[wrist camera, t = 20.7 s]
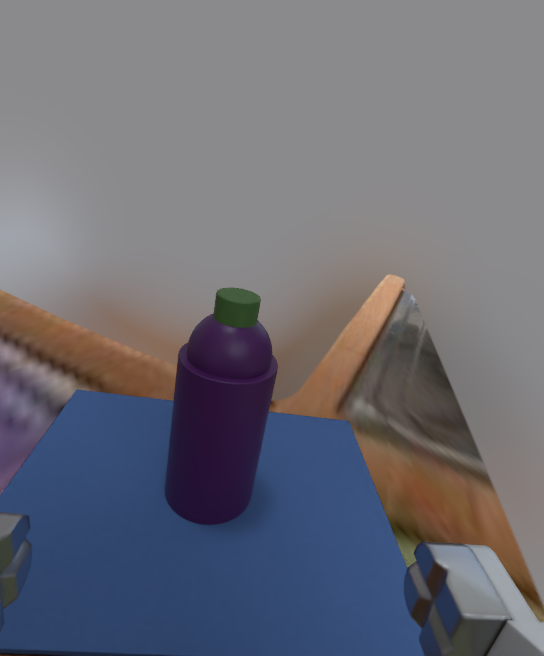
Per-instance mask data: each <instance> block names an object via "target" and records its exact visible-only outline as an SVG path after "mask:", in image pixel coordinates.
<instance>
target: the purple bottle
mask: <svg viewBox="0 0 544 656" xmlns="http://www.w3.org/2000/svg"><path fill="white" fill-rule="evenodd" d="M260 301H261V299H260V296H258V295H257V294H255V293H253V292H251V291H248V290H244V289H239V288H223V289H220V290H218V291H217V293H216V300H215V307H214V313H213V314H211V315H209V316H207V317H206V318H205V319H203V320H202V321H201V322H200V323H199V324H198V325H197V326H196V327H195V329H194V330H193V332H192V334H191V336H190V339H189V341H188V343H187V344H185V345H184V346H182V348H181V349H180V351H179V354H178V364H177V373H176V383H175V393H174V403H173V412H172V422H171V432H170V442H169V451H168V461H167V471H166V481H165V497H166V500H167V502H168V504H169V506H170V507H171V508H172V510H173V511H174V512H175V513H177V514H178V515H179V516H181V517H182V518H184V519H186V520H188V521H191V522H194V523H198V524H204V525H214V524H221V523H225V522H228V521H231V520H233V519H235V518H236V517H238V516H239V515H240V514H242V513H243V512H244V511H245V509H246V508H247V506H248V505H249V503H250V500H251V496H252V491H253V486H254V481H255V476H256V471H257V466H258V462H259V457H260V452H261V447H262V442H263V437H264V432H265V428H266V423H267V418H268V413H269V408H270V403H271V399H272V393H273V388H274V384H275V379H276V374H277V369H278V364H277V361H276V359H275V358H274V356H273V355H272V345H271V341H270V338H269V335H268V333H267V331H266V330H265V328H264V327H263V326H262V325H261V323H259V321H258V320H257V318H258V313H259V307H260Z"/></svg>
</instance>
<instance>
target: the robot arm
mask: <svg viewBox="0 0 544 656" xmlns="http://www.w3.org/2000/svg"><path fill="white" fill-rule="evenodd" d="M30 528H31V527H30V519H29V516H28V515H23V514H13V513H3V512H0V631H1V629H2V627H3V625H4V624H5V622H4V612H3V609H4V608H6V607H7V606H8V605H10V604H11V603H12V602H13V601H15V600H16V599H17V598H18V596H19V594H20V592H21V590H22V588H23V586H24V584H25V582H26V579H27V575H28V572H29V569H30V566H31V560H32V544H31V543H30V542H29V541H28V540H27V539H26V538H25V537H26V535H27V534H28V532H29V530H30ZM414 555H415V557H416V560H417V562H415V563H414V564H412V565H411V566H410V567H408V569H407V571H406V574H405V577H404V597H405V602H406V606H407V609H408V611H409V614H410V617H411V618H412V619H413V620H414V621H415V622H416V623H417V624H418V625H419V626H420V627H421V631H420V635H419V642H420V645H421V647H422V650H423V653H424V656H544V622H539V621H538V620H537V618H536V617H535V615H534V614H533V612H532V610H531V609H530V607H529V606H528V604H527V603H526V601H525V599H524V598H523V596H522V595H521V593H520V592H519V590H518V588H517V587H516V585H515V584H514V582H513V581H512V579H511V578H510V576H509V574H508V573H507V571H506V570H505V568H504V567H503V565H502V563H501V562H500V560H499V559H498V557H497V556H496V554H495V552H494V551H493V550H492V549H491V548H489V547H488V546H482V545H467V544H465V545H463V544H457V543H439V542H421V543H420V544H418V545H417V547H416V550H415V552H414Z"/></svg>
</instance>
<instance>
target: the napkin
mask: <svg viewBox="0 0 544 656" xmlns="http://www.w3.org/2000/svg"><path fill="white" fill-rule="evenodd" d="M173 403H174V401H171V400H162V399H153V398H145V397H136V396H127V395H119V394H110V393H101V392H93V391H84V390H76V392H75V393H74V394H73V396H72V397H71V398H70V400H69V401H68V403H67V404H66V405H65V407H64V408H63V410H62V411H61V412H60V414H59V415H58V417H57V418H56V419H55V421H54V422H53V423H52V425H51V426H50V428H49V429H48V430H47V432H46V433H45V435H44V436H43V437H42V439H41V440H40V441H39V443H38V444H37V446H36V447H35V448H34V450H33V451H32V453H31V454H30V455H29V457H28V458H27V459H26V461H25V462H24V464H23V465H22V466H21V468H20V469H19V471H18V472H17V473H16V475H15V476H14V478H13V479H12V480H11V482H10V483H9V484H8V486H7V487H6V489H5V490H4V491H3V493H2V494H1V496H0V512H3V513H13V514H23V515H28V516H29V519H30V527H31V528H30V530H29V532H28V534H27V535H26V537H25V538H26V539H27V540H28V541H29V542H30V543H31V544H32V560H31V566H30V569H29V572H28V575H27V579H26V582H25V584H24V586H23V588H22V590H21V592H20V594H19V596H18V598H17V599H16V600H15V601H13V602H12V603H11V604H10V605H8V606H7V607H6V608H4V609H3V612H4V622H5V624H4V625H3V627H2V629H1V631H0V653H14V654H41V655H67V656H424V653H423V650H422V647H421V645H420V642H419V635H420V631H421V627H420V626H419V625H418V624H417V623H416V622H415V621H414V620H413V619H412V618H411V617H410V614H409V611H408V609H407V606H406V602H405V597H404V577H405V574H406V571H407V567H406V564H405V562H404V559H403V557H402V554H401V551H400V549H399V546H398V544H397V541H396V539H395V536H394V534H393V531H392V529H391V526H390V524H389V521H388V519H387V516H386V514H385V511H384V509H383V506H382V503H381V501H380V498H379V496H378V493H377V491H376V488H375V486H374V483H373V481H372V478H371V476H370V473H369V471H368V468H367V466H366V463H365V461H364V458H363V455H362V453H361V450H360V448H359V445H358V443H357V440H356V438H355V435H354V433H353V430H352V428H351V425H350V423H349V421H344V420H336V419H327V418H318V417H310V416H301V415H292V414H284V413H275V412H269V413H268V418H267V423H266V428H265V432H264V437H263V442H262V447H261V452H260V457H259V462H258V466H257V471H256V476H255V481H254V486H253V491H252V496H251V500H250V503H249V505H248V506H247V508H246V509H245V511H244V512H243V513H242V514H240V515H239V516H238V517H236V518H235V519H233V520H231V521H228V522H225V523H221V524H214V525H204V524H198V523H194V522H191V521H188V520H186V519H184V518H182V517H181V516H179V515H178V514H177V513H175V512H174V511H173V510H172V508H171V507H170V506H169V504H168V502H167V500H166V497H165V481H166V471H167V461H168V451H169V442H170V432H171V422H172V412H173Z"/></svg>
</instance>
